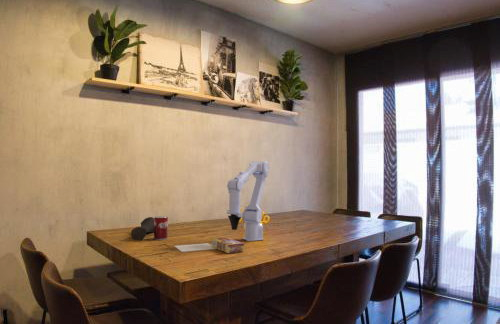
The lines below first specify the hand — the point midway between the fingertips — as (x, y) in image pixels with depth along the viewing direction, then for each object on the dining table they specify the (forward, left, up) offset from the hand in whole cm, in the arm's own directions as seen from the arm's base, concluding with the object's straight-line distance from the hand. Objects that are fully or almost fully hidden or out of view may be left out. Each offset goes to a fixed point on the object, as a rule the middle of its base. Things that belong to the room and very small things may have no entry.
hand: (234, 229), depth 172 cm
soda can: (+31, -28, -8) cm, 42 cm away
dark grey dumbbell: (+36, -41, -8) cm, 55 cm away
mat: (+20, 0, -7) cm, 22 cm away
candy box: (+9, +2, -5) cm, 10 cm away
